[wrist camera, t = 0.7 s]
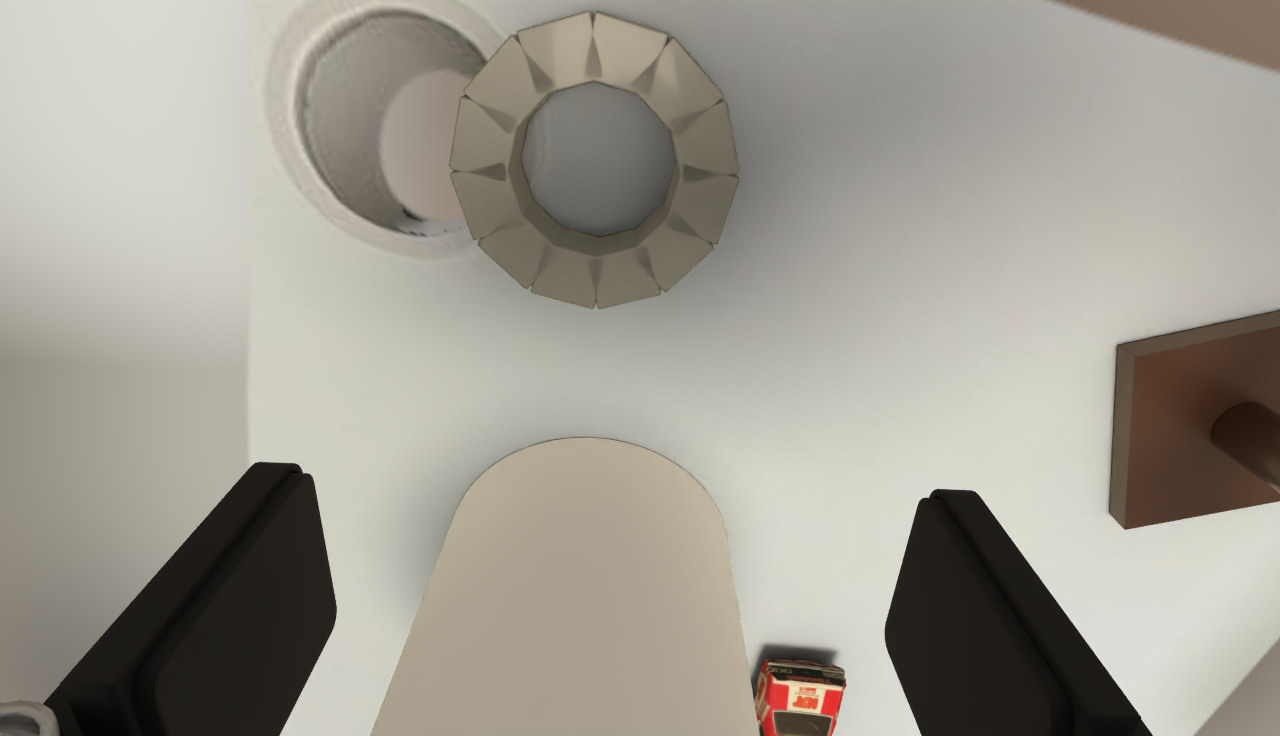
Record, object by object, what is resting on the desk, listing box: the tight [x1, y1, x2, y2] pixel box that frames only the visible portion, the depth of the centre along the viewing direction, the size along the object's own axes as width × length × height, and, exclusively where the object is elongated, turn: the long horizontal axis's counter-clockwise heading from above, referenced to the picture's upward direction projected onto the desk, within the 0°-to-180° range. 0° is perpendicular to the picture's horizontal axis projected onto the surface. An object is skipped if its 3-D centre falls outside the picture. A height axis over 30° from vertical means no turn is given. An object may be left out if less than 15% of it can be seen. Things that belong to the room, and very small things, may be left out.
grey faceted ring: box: [449, 11, 739, 309], centre depth 25 cm, size 10×10×3 cm
